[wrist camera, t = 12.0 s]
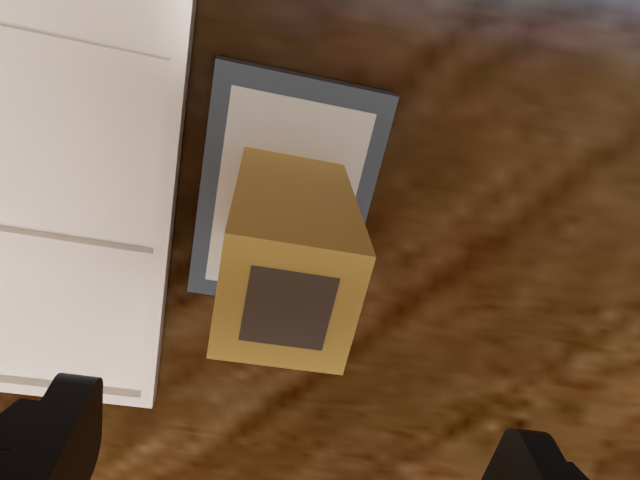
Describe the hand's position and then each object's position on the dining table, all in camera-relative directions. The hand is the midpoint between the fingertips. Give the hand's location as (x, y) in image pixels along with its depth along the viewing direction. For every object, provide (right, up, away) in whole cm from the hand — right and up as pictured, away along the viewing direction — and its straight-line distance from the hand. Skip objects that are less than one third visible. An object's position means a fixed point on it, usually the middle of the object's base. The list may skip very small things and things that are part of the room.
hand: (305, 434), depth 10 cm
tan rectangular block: (-1, +5, +11) cm, 13 cm away
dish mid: (-10, +7, +11) cm, 16 cm away
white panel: (-12, 0, +14) cm, 18 cm away
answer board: (-1, +6, +12) cm, 14 cm away
